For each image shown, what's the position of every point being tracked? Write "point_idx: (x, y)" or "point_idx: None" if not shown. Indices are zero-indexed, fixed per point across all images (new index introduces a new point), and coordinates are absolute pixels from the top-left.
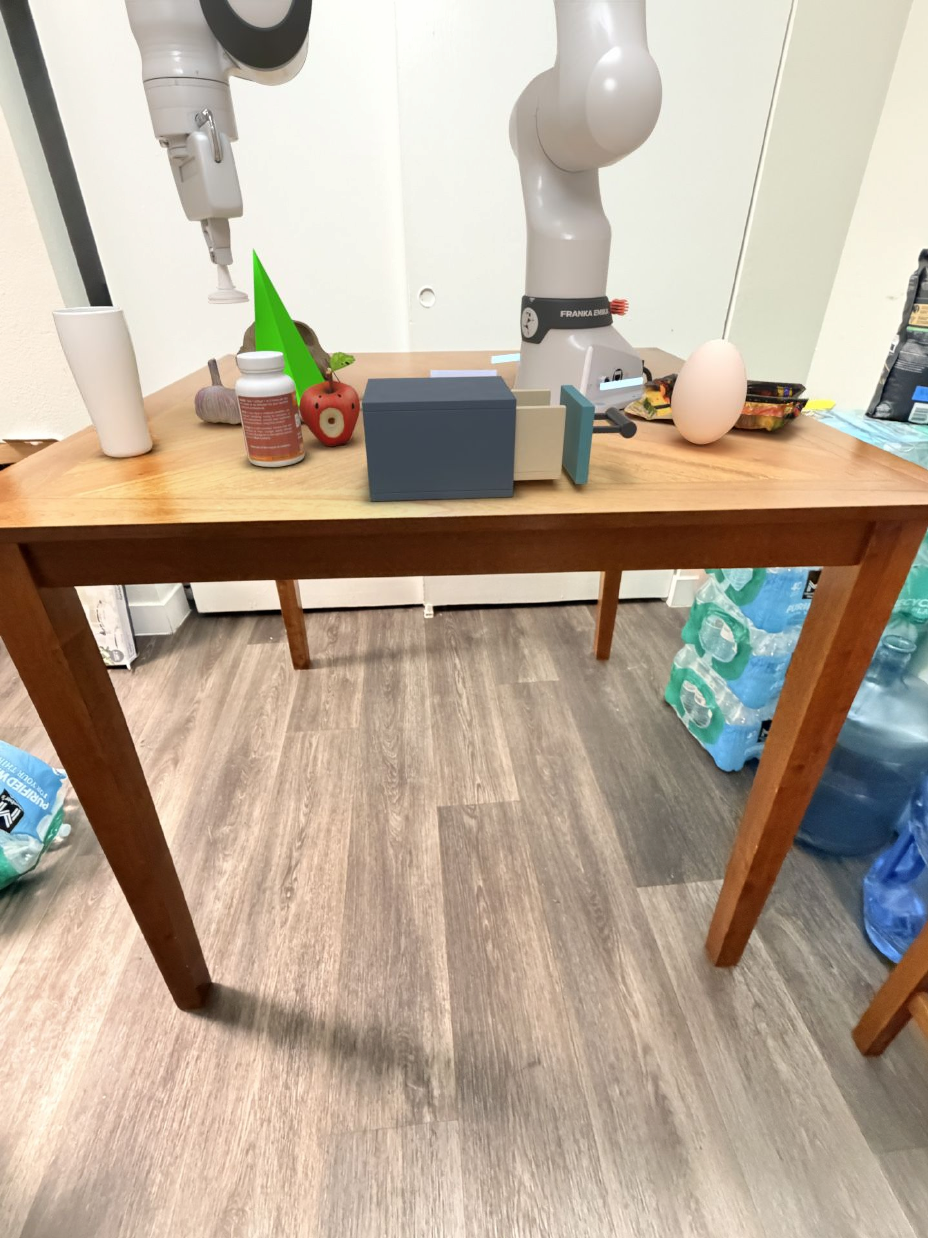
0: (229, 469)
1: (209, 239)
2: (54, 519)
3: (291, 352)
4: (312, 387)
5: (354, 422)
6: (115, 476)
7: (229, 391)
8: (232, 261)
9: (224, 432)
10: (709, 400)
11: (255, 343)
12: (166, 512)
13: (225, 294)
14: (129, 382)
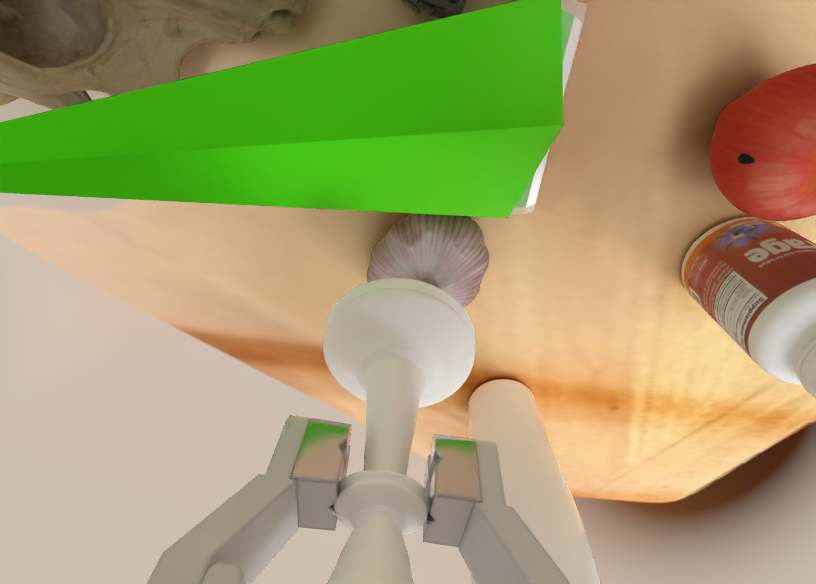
0: (698, 327)
1: (268, 557)
2: (687, 482)
3: (463, 104)
4: (802, 192)
5: None
6: (597, 427)
7: (456, 272)
8: (495, 446)
9: (486, 271)
10: None
11: (61, 87)
12: (777, 417)
13: (451, 381)
14: (562, 474)
